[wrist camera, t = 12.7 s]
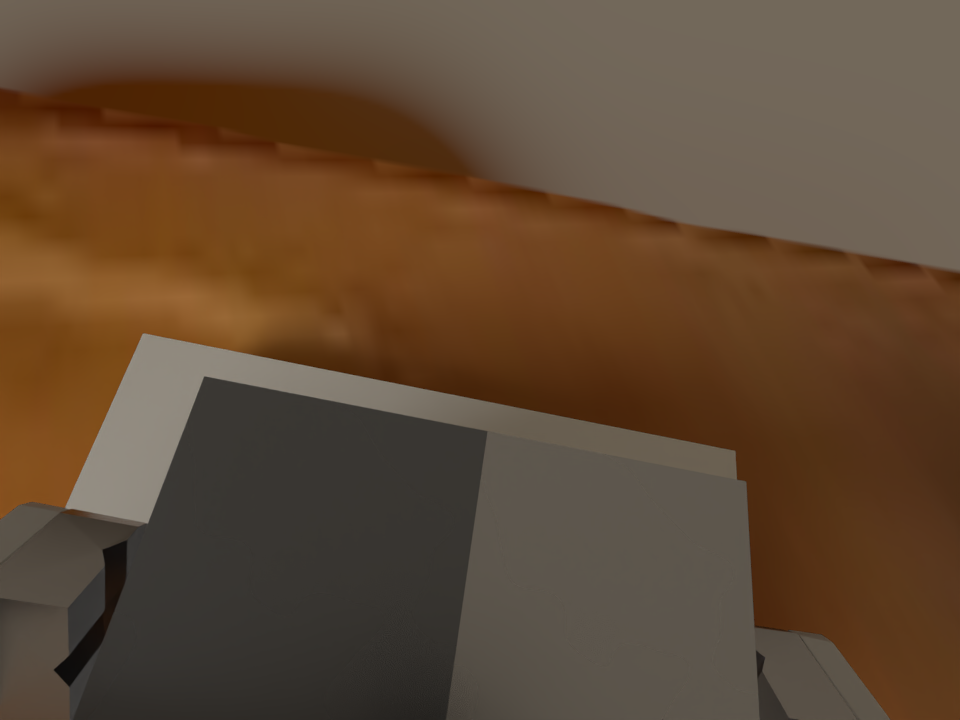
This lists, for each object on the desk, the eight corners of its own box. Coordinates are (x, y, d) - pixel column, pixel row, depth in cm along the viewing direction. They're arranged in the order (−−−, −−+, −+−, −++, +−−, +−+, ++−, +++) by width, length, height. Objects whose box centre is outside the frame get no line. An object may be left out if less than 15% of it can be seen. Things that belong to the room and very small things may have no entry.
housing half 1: (381, 782, 12) (400, 1035, 5) (425, 530, 14) (487, 431, 7) (534, 802, 12) (780, 1070, 5) (555, 552, 14) (745, 481, 7)
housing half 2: (220, 760, 11) (-33, 994, 4) (291, 506, 14) (204, 376, 6) (381, 782, 12) (400, 1035, 5) (425, 530, 14) (487, 431, 7)
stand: (-4, 877, 13) (-144, 973, 9) (187, 390, 18) (143, 333, 15) (668, 950, 15) (765, 1057, 11) (668, 481, 20) (735, 450, 16)
